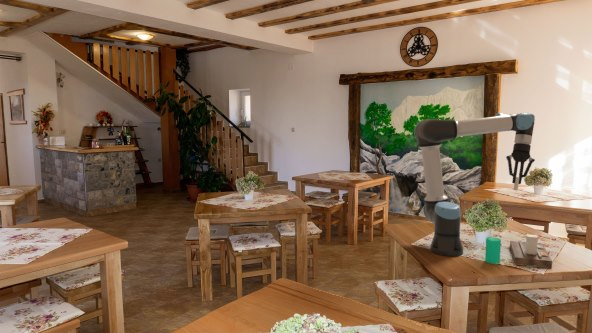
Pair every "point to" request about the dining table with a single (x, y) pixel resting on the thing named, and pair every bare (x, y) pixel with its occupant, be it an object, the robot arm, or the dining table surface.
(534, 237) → the switch tab
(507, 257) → the dining table surface
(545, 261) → the switch board
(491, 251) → the candle
